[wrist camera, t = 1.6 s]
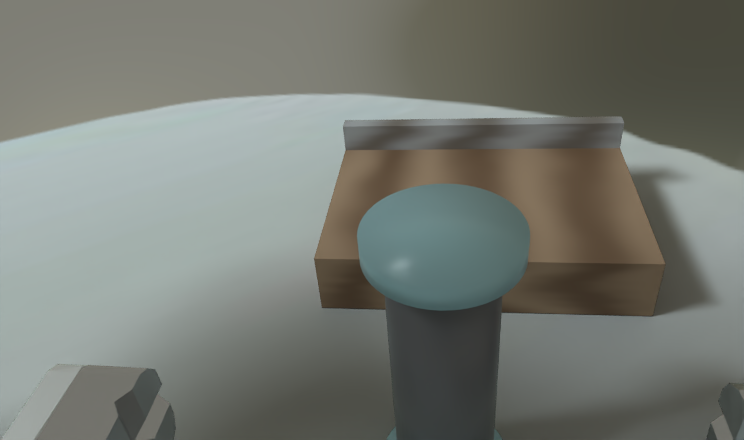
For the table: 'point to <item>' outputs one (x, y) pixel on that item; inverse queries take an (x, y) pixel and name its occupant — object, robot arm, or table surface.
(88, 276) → the table surface
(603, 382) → the table surface
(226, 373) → the table surface
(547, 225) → the shelf block
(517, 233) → the cord spool
